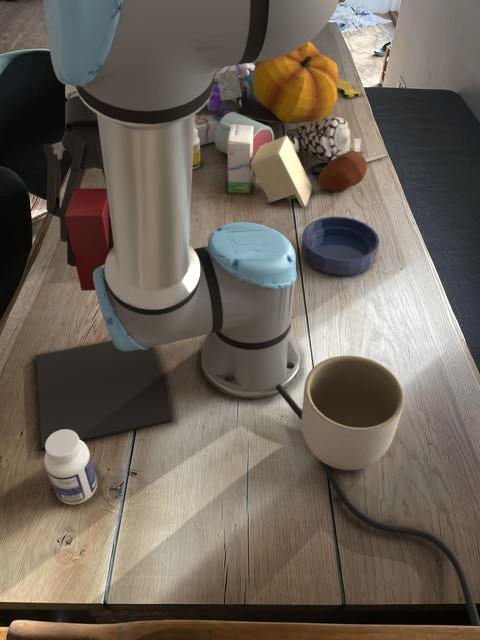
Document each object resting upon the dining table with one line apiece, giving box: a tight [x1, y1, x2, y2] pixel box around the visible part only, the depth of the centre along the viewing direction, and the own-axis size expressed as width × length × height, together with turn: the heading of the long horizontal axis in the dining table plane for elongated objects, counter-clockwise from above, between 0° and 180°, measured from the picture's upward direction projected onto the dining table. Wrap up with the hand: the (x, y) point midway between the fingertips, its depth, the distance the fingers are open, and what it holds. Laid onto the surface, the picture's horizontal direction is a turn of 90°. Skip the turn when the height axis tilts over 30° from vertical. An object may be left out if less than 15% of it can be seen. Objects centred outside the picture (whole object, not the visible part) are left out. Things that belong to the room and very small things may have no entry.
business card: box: [217, 70, 242, 101], centre depth 142 cm, size 9×5×1 cm, turn 7°
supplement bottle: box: [192, 127, 202, 170], centre depth 138 cm, size 5×5×8 cm
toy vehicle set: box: [347, 138, 362, 153], centre depth 146 cm, size 12×4×2 cm
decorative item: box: [337, 78, 361, 98], centre depth 172 cm, size 11×1×5 cm
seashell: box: [284, 116, 351, 162], centre depth 141 cm, size 16×13×10 cm
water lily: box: [215, 63, 255, 79], centre depth 156 cm, size 15×15×9 cm
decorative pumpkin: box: [252, 40, 339, 125], centre depth 141 cm, size 20×22×15 cm
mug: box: [214, 112, 275, 158], centre depth 138 cm, size 14×9×10 cm
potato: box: [317, 151, 368, 193], centre depth 131 cm, size 8×12×8 cm
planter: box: [301, 355, 405, 471], centre depth 81 cm, size 12×12×11 cm
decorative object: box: [218, 74, 284, 124], centre depth 156 cm, size 29×29×10 cm
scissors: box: [311, 153, 388, 178], centre depth 140 cm, size 7×1×20 cm
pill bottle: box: [43, 429, 98, 505], centre depth 76 cm, size 5×5×10 cm
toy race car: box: [195, 79, 250, 118], centre depth 146 cm, size 10×15×6 cm, turn 70°
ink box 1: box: [194, 112, 222, 146], centre depth 149 cm, size 9×5×12 cm
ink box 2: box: [227, 124, 253, 194], centre depth 131 cm, size 8×5×12 cm, turn 175°
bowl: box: [300, 216, 380, 276], centre depth 114 cm, size 14×14×4 cm
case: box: [65, 187, 110, 292], centre depth 88 cm, size 5×7×13 cm
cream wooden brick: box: [251, 135, 313, 208], centre depth 128 cm, size 8×7×13 cm
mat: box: [35, 340, 173, 451], centre depth 91 cm, size 18×18×1 cm
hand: (92, 264), depth 86 cm, fingers closed on case, 5 cm apart
